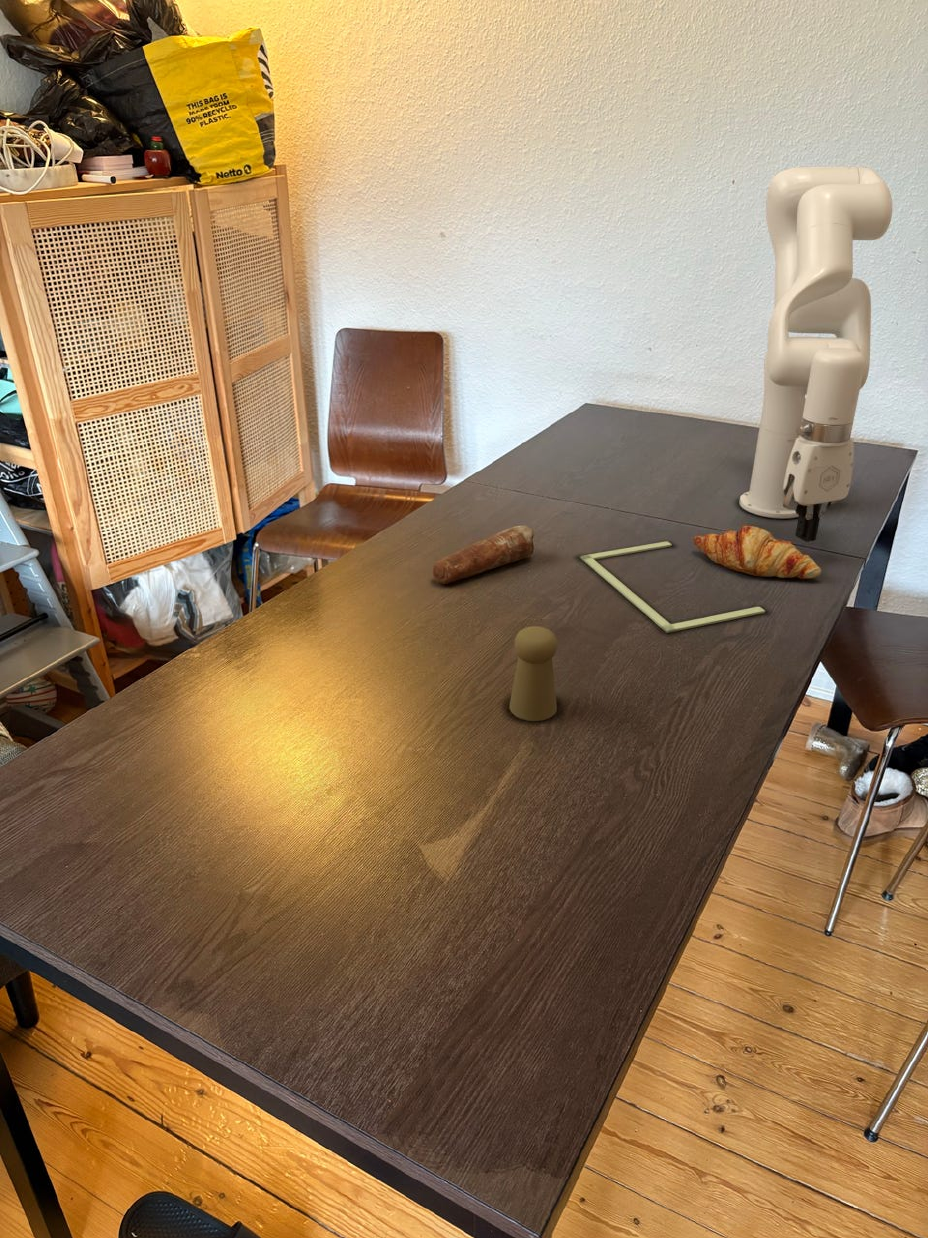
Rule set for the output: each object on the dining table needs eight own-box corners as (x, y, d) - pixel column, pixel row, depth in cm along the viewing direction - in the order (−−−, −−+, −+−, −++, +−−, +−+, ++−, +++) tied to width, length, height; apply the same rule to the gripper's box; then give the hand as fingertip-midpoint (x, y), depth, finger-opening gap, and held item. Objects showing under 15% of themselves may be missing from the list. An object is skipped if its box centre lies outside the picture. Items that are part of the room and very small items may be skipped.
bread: (537, 560, 153) (538, 530, 150) (445, 591, 143) (444, 559, 141) (513, 548, 158) (514, 518, 155) (422, 577, 148) (421, 546, 145)
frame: (666, 543, 159) (667, 541, 159) (764, 612, 137) (765, 610, 137) (580, 558, 154) (580, 555, 154) (667, 633, 131) (667, 630, 131)
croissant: (818, 593, 149) (833, 546, 149) (811, 589, 140) (826, 539, 140) (694, 562, 159) (707, 518, 158) (680, 556, 150) (694, 509, 149)
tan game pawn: (506, 695, 117) (508, 621, 112) (552, 692, 118) (556, 618, 113) (512, 722, 112) (514, 645, 107) (560, 719, 113) (565, 643, 107)
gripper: (802, 442, 137) (782, 553, 146) (880, 431, 142) (857, 540, 150) (771, 429, 143) (753, 536, 152) (846, 419, 148) (825, 524, 157)
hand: (805, 538), depth 151 cm, fingers closed
